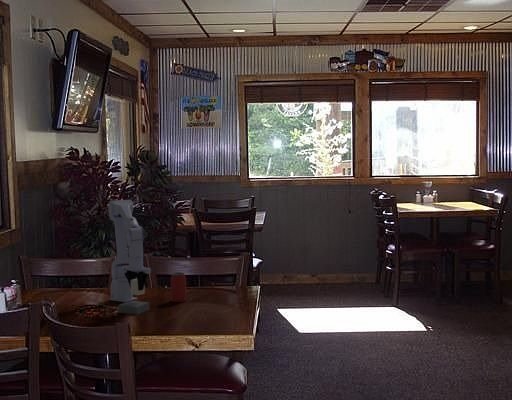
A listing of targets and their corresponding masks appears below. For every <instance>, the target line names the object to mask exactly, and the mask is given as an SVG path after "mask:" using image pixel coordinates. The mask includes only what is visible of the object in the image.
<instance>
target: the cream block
mask: <svg viewBox="0 0 512 400" xmlns="http://www.w3.org/2000/svg"><path fill="white" fill-rule="evenodd" d="M145 287H146V286H145V284H144V288H143V290H140V291H139V290H138V282H137V278H136V279H132V280H131V294H132V295H134V296H140V295H145Z"/></svg>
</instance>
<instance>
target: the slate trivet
mask: <svg viewBox="0 0 512 400" xmlns="http://www.w3.org/2000/svg"><path fill="white" fill-rule="evenodd" d="M150 305H151V304H150V302H148V301H138V300H137V301H136V300H131V301H127V302H123V303H121V304H118V305H117V309H118V313H119V314H129V315H139V314H142V313H144V312H147V311H150V308H151V307H150Z"/></svg>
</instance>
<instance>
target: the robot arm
mask: <svg viewBox="0 0 512 400" xmlns="http://www.w3.org/2000/svg"><path fill="white" fill-rule="evenodd" d="M133 212H134V202H133V200H132V199H119V200H116V199H115V200H109V202H108V216H109V220H110V221H113V224H114V234H115V243H116V244H115V246H116V247H115V248H116V259H114V261H112V263H111V268H110V269H111V270H110V272H111V277H112V279H113V280H112V281H111V283H110V298H109V300H110V301H113V302H114V301H115V302H122V303H126V302H129V301H136V300H137V299H138V298H137V297H135V296H134V297H133V295H132V294H131V280H132V279H137V282H138V290H139V291H140V290H143V288H144V284H145V283H146V280H147V278H148V277H149V275H150V274H151V273H152V269H151V267H146V266H144V246H143V241H145V230H144V227H143V226H140V225H139V223H138V220H137V218H136V217H135V216H133V215H132V214H133Z"/></svg>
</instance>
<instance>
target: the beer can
mask: <svg viewBox="0 0 512 400" xmlns="http://www.w3.org/2000/svg"><path fill="white" fill-rule="evenodd" d="M186 300H187V277H186V275H185V273H184V272H173V273H171V276H170V301H171V302H173V303H184V302H186Z"/></svg>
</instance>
